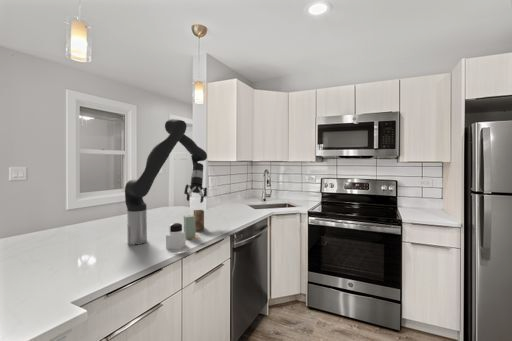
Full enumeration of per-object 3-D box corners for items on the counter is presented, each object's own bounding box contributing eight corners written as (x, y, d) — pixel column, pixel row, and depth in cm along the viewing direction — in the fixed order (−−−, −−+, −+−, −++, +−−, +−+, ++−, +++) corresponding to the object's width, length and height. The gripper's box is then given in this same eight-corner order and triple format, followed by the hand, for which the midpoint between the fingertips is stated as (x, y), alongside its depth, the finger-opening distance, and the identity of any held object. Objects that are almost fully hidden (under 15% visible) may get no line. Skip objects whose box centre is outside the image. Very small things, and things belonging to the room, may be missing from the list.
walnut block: (196, 231, 155) (195, 211, 154) (193, 229, 159) (193, 210, 159) (204, 230, 157) (204, 211, 157) (201, 228, 162) (201, 209, 161)
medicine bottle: (185, 245, 131) (185, 222, 131) (179, 250, 124) (179, 225, 124) (172, 245, 132) (171, 221, 131) (165, 249, 125) (165, 225, 124)
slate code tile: (193, 234, 151) (193, 233, 151) (188, 230, 160) (188, 229, 160) (209, 231, 156) (209, 230, 156) (204, 228, 165) (204, 227, 165)
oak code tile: (182, 242, 137) (182, 241, 137) (178, 237, 145) (178, 236, 145) (200, 239, 141) (200, 238, 141) (195, 234, 150) (195, 233, 150)
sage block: (186, 239, 140) (186, 217, 139) (183, 236, 144) (183, 215, 144) (195, 237, 142) (195, 216, 142) (192, 235, 147) (192, 214, 146)
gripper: (188, 174, 166) (185, 198, 159) (209, 178, 172) (207, 201, 166) (185, 178, 172) (182, 201, 165) (205, 181, 178) (203, 204, 172)
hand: (194, 201), depth 166 cm, fingers open, 8 cm apart
